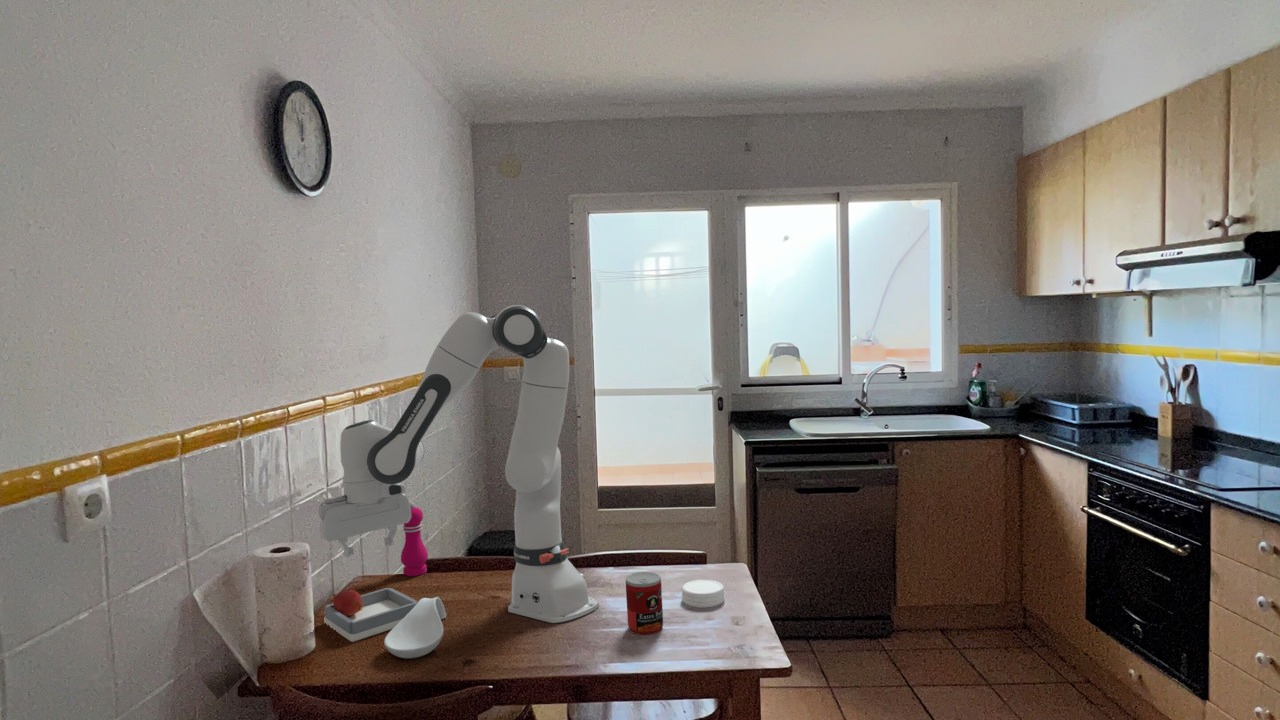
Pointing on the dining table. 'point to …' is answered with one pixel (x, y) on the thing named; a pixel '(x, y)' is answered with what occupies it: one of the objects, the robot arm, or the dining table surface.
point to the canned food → (644, 603)
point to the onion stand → (371, 614)
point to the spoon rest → (417, 630)
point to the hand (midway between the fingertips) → (369, 550)
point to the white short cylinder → (703, 593)
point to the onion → (347, 602)
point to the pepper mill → (414, 545)
